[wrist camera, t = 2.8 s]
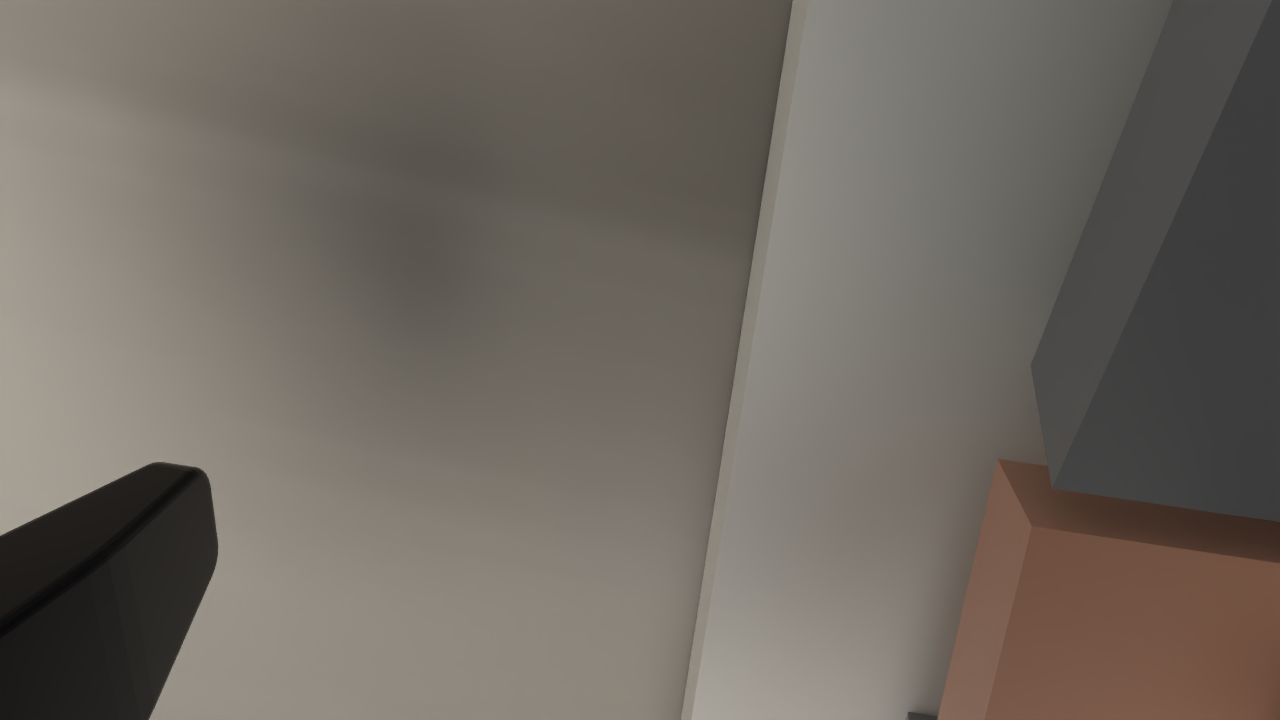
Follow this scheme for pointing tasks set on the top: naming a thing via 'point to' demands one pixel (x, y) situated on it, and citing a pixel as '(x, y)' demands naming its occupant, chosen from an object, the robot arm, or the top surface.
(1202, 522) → the rocker
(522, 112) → the top surface
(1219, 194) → the rocker
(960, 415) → the power strip
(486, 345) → the top surface
